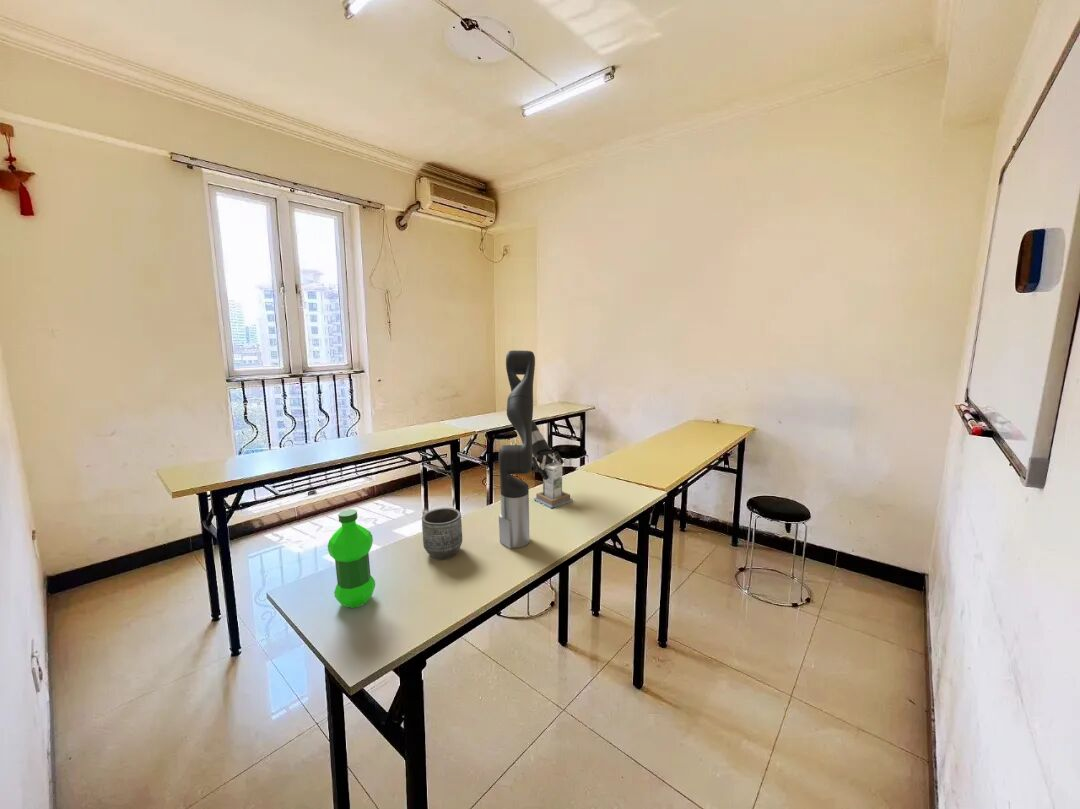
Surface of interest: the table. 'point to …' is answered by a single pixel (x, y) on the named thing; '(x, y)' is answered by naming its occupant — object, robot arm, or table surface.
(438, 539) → the planter
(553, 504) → the footing plate
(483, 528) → the table surface
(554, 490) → the syrup box
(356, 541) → the plastic bottle
